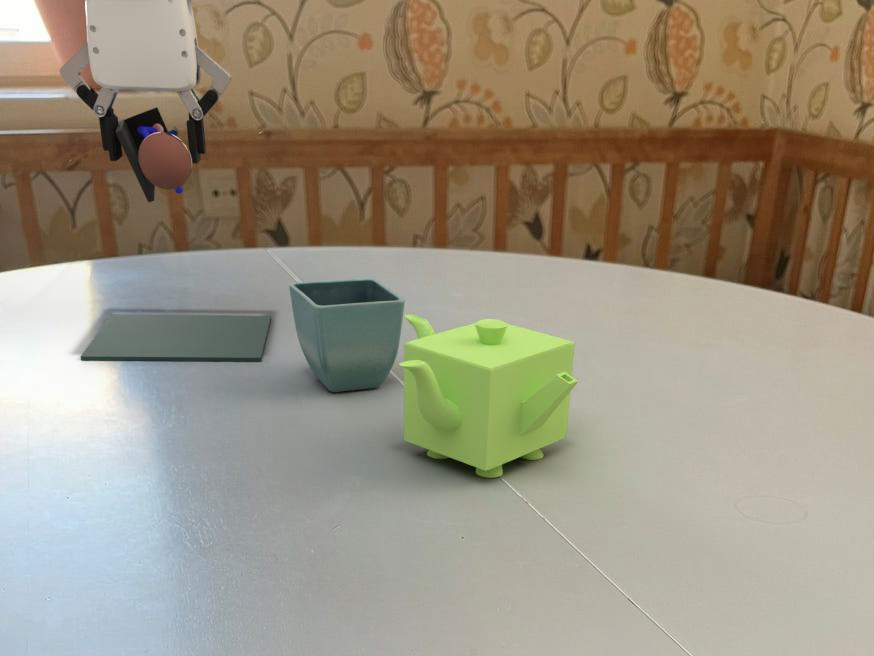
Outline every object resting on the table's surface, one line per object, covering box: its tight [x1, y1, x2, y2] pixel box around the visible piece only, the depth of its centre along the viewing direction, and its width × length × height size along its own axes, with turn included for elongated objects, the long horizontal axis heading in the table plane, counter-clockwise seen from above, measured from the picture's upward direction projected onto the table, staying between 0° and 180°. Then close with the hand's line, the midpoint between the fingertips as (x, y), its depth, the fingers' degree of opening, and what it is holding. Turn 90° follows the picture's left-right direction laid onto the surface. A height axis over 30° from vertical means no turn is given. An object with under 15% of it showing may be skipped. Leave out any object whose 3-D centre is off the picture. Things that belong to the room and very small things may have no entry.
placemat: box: [80, 313, 272, 362], centre depth 114 cm, size 18×16×1 cm
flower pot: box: [288, 278, 406, 393], centre depth 101 cm, size 9×9×9 cm
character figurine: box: [115, 106, 193, 204], centre depth 107 cm, size 8×7×15 cm
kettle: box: [398, 314, 579, 479], centre depth 86 cm, size 15×14×11 cm
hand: (156, 159), depth 107 cm, fingers closed on character figurine, 7 cm apart
